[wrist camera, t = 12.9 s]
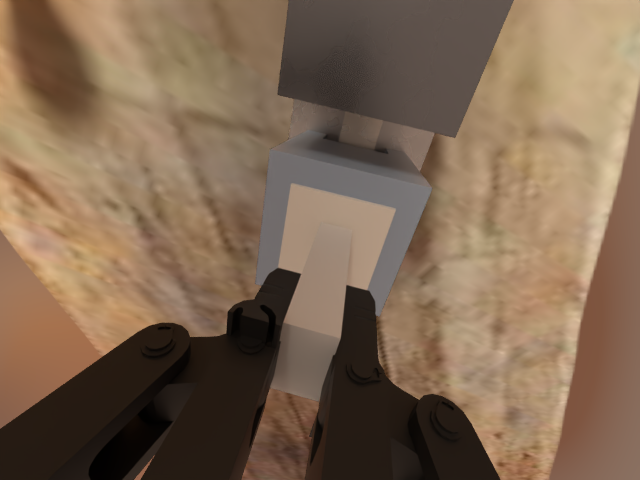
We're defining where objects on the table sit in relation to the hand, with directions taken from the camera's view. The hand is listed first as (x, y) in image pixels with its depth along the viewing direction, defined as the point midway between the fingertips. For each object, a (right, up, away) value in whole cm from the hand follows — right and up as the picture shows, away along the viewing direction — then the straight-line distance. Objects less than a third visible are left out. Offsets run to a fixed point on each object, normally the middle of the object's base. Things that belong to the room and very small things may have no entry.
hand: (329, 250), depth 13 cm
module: (+1, +4, +8) cm, 10 cm away
